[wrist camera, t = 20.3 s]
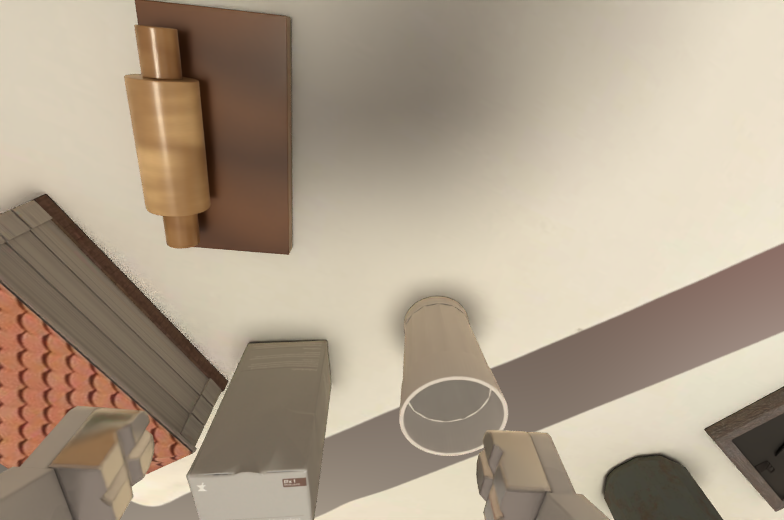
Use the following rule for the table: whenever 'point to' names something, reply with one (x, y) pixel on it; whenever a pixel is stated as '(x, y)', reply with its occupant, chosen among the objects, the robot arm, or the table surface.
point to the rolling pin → (168, 136)
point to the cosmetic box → (266, 436)
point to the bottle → (656, 492)
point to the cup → (446, 381)
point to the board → (239, 119)
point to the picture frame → (757, 445)
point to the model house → (87, 342)
